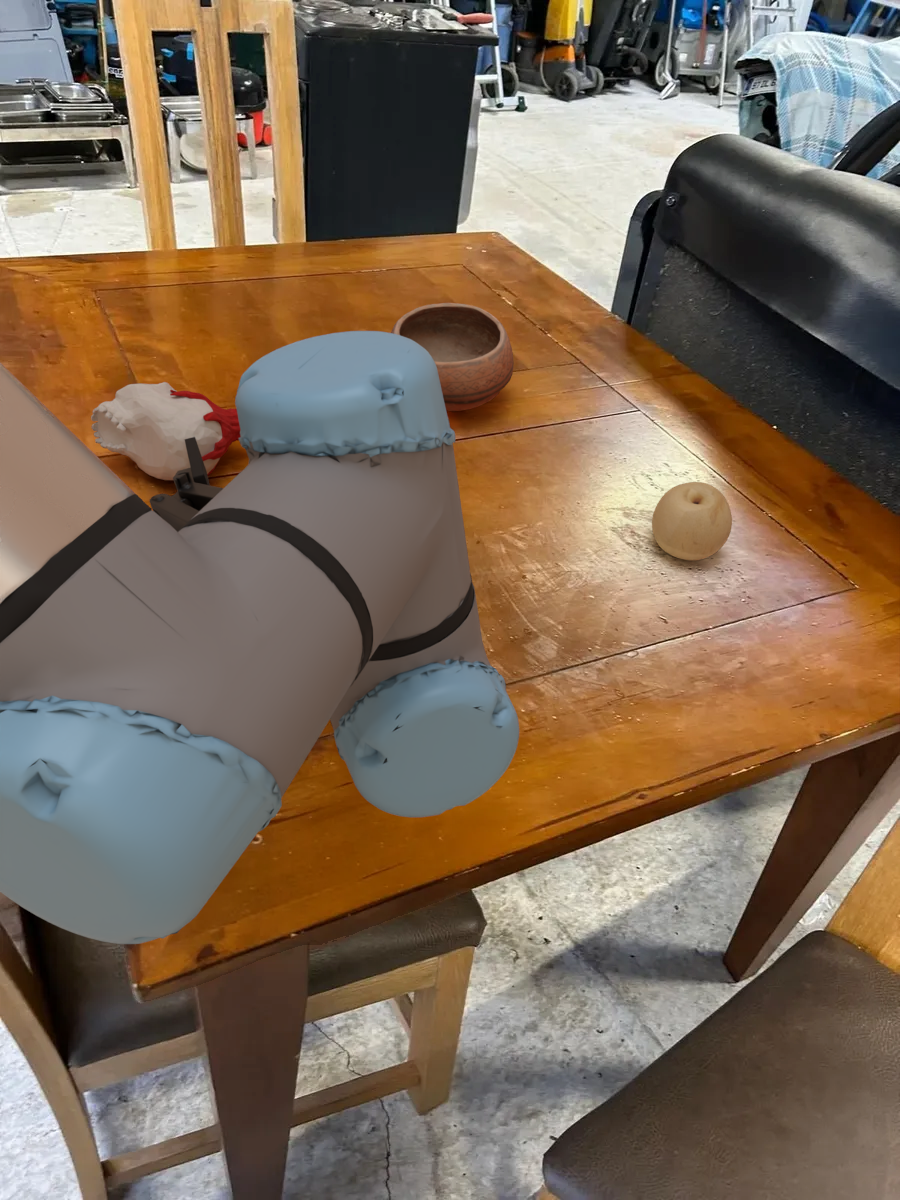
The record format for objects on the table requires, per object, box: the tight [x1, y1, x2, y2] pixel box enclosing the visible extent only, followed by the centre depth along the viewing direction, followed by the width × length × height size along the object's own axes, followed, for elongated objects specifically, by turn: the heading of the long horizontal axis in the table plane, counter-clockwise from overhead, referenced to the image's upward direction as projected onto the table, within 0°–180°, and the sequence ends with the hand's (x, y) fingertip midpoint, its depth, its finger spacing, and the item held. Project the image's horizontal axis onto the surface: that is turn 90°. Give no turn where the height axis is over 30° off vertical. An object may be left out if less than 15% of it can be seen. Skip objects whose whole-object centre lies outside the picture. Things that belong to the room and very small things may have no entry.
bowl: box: [390, 302, 515, 412], centre depth 108 cm, size 16×16×10 cm
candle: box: [90, 381, 241, 481], centre depth 92 cm, size 9×11×15 cm
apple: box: [651, 481, 733, 561], centre depth 90 cm, size 8×8×8 cm
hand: (287, 430), depth 65 cm, fingers open, 13 cm apart
